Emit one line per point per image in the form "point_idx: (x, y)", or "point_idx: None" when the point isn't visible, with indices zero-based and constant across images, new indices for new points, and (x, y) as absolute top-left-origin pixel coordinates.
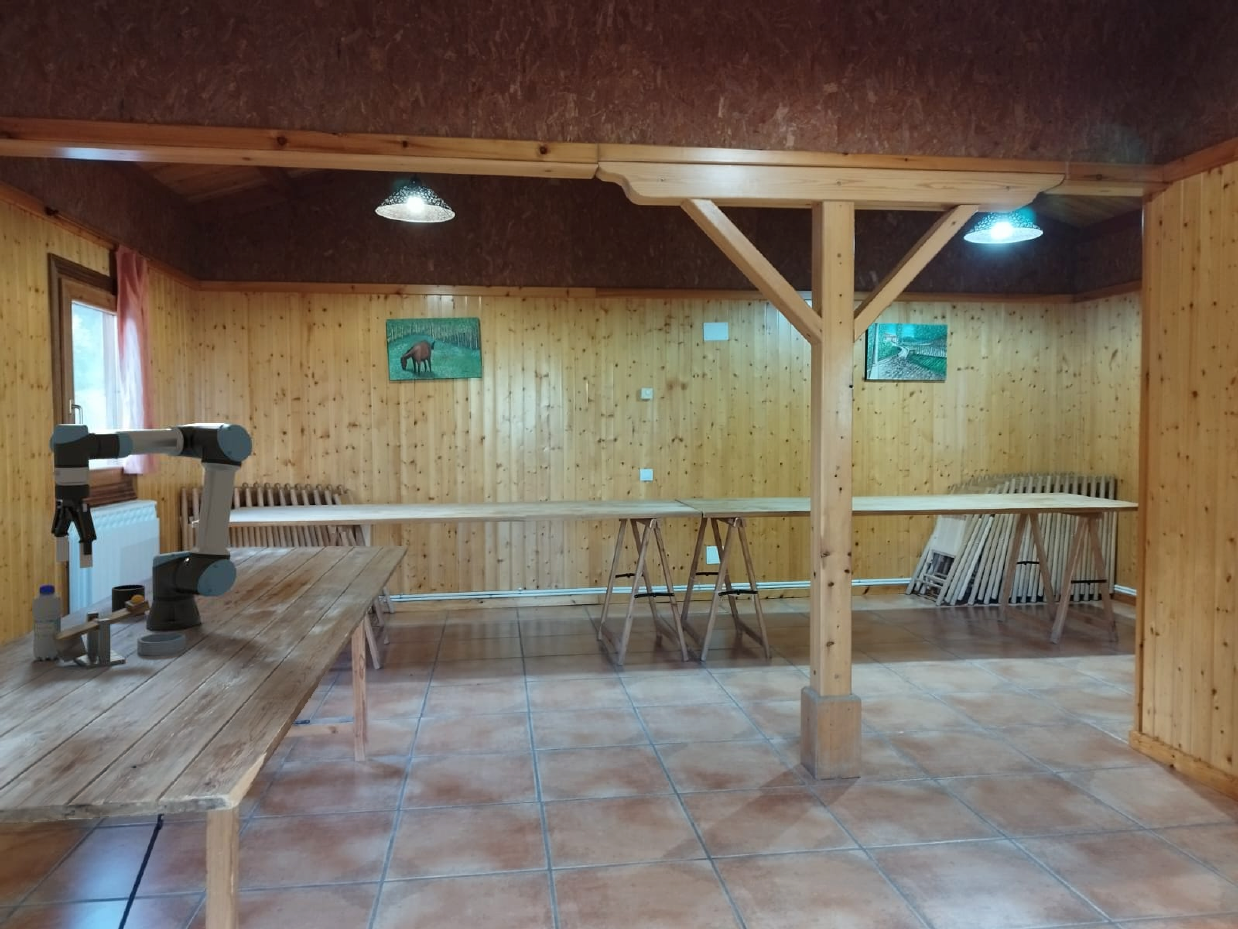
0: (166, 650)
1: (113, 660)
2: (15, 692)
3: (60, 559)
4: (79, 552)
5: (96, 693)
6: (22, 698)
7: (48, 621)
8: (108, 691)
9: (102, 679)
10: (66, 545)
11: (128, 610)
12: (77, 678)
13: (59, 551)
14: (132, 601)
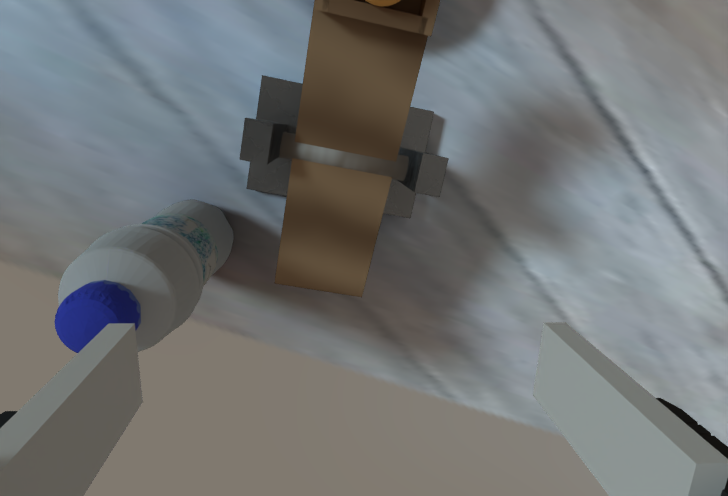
0: None
1: (421, 144)
2: (464, 395)
3: (132, 393)
4: (602, 483)
5: (628, 292)
6: (521, 401)
7: (203, 282)
8: (638, 269)
9: (534, 232)
10: (64, 425)
11: (377, 32)
12: (472, 266)
13: (101, 447)
14: (390, 4)
